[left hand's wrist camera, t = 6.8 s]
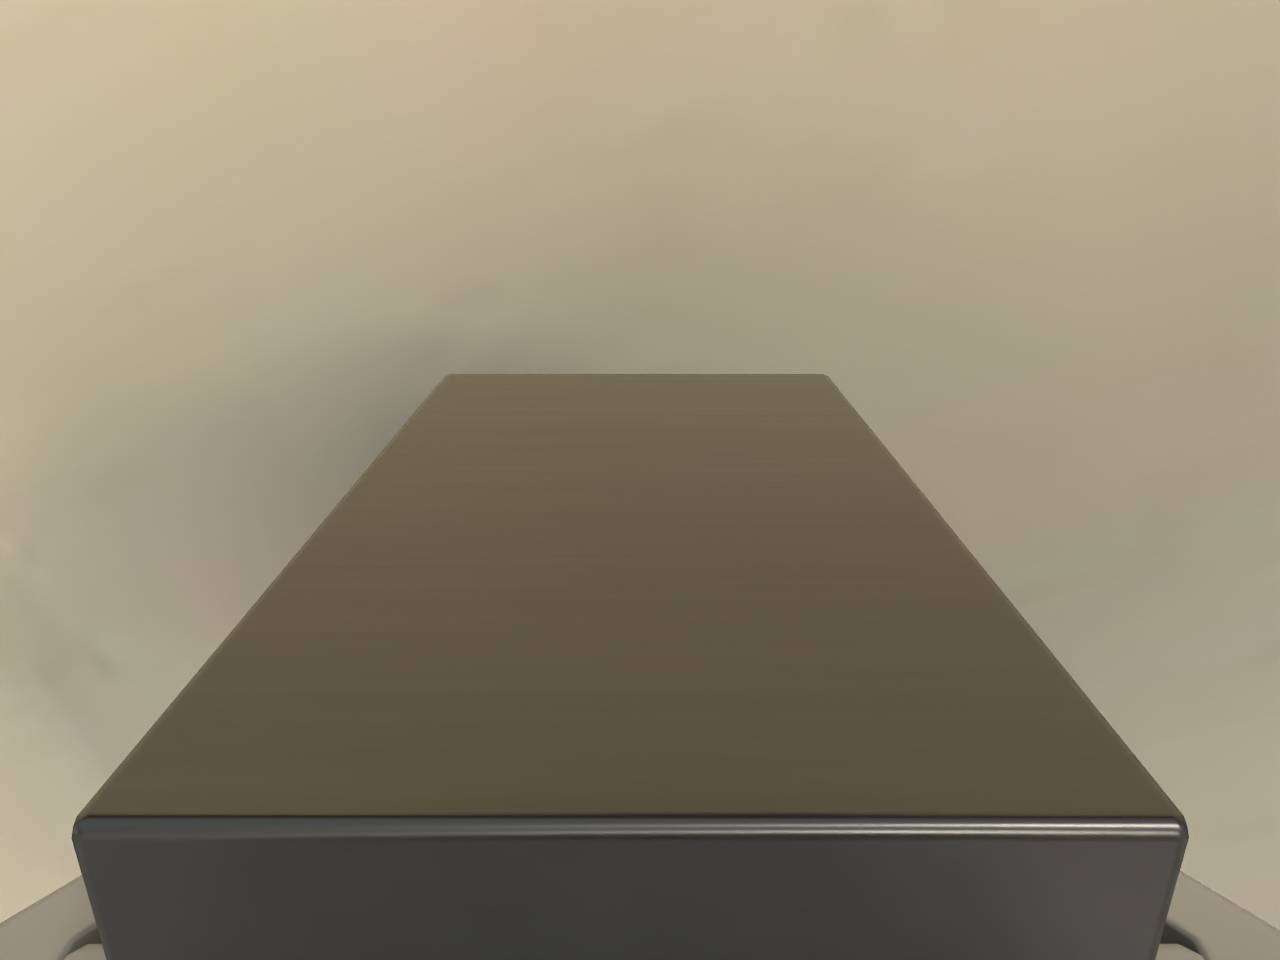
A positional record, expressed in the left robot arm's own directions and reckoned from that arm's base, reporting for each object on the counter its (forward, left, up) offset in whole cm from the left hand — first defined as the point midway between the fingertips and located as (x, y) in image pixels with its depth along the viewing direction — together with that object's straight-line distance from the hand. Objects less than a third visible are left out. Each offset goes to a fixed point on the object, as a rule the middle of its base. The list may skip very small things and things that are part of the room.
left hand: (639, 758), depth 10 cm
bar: (+9, 0, -3) cm, 10 cm away
